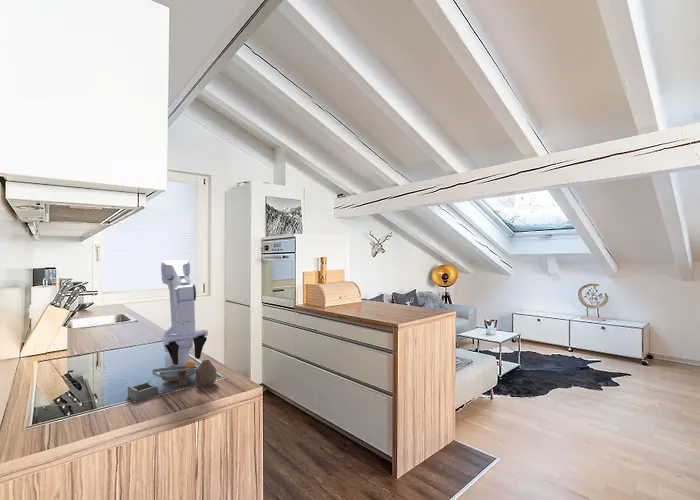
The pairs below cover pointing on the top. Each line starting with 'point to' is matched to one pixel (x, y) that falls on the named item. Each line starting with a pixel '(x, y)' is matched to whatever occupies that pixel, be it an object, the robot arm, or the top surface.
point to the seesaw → (172, 372)
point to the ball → (189, 364)
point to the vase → (206, 374)
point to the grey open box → (142, 391)
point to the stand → (179, 380)
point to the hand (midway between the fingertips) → (186, 361)
